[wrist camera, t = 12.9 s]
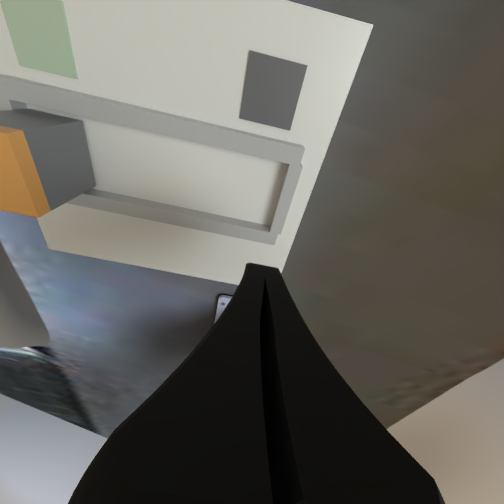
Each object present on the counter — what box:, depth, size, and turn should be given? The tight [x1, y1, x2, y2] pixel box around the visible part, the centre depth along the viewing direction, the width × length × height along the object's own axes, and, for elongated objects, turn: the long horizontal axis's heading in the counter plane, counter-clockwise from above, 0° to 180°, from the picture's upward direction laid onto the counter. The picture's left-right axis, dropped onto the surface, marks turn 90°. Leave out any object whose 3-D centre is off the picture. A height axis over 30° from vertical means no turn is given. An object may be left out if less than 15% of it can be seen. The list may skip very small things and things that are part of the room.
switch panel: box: [0, 0, 373, 285], centre depth 15 cm, size 18×20×2 cm
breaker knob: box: [0, 109, 96, 218], centre depth 12 cm, size 4×3×5 cm
